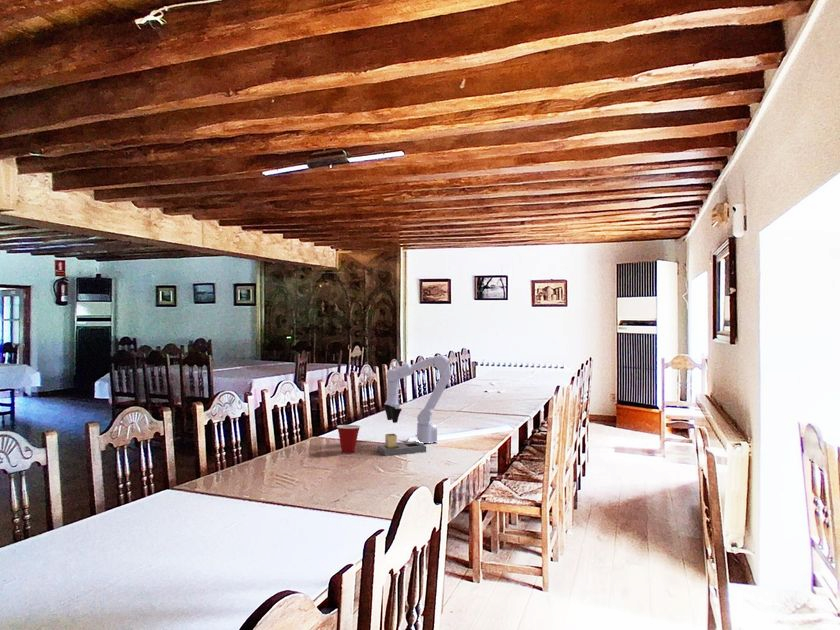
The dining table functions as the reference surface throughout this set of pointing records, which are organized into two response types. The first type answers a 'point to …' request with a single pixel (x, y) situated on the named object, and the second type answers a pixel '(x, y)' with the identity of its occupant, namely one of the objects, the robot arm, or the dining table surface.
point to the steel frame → (402, 448)
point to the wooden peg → (390, 441)
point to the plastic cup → (348, 437)
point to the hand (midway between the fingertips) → (392, 421)
